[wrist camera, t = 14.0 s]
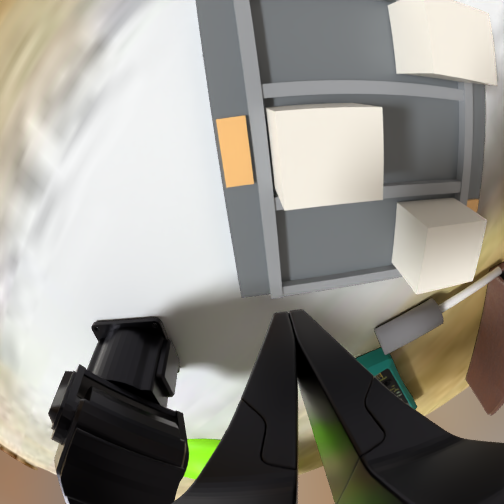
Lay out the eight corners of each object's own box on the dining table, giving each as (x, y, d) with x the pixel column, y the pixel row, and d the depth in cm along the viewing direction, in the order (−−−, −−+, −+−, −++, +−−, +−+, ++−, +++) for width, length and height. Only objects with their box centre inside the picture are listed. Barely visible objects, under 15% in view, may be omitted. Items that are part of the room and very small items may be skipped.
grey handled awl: (372, 324, 25) (376, 337, 27) (383, 347, 23) (386, 359, 25) (493, 252, 23) (490, 269, 24) (508, 270, 21) (504, 287, 22)
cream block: (274, 185, 18) (284, 210, 14) (265, 107, 16) (274, 111, 12) (355, 177, 18) (382, 199, 14) (351, 102, 16) (382, 107, 12)
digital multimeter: (381, 338, 27) (392, 360, 25) (412, 395, 34) (419, 412, 31) (316, 373, 29) (322, 396, 26) (363, 420, 35) (369, 438, 33)
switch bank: (241, 287, 23) (241, 303, 21) (196, -4, 13) (193, -13, 11) (460, 253, 23) (472, 264, 21) (466, 15, 13) (482, 13, 11)
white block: (391, 262, 21) (416, 294, 17) (396, 202, 19) (427, 227, 15) (444, 253, 21) (472, 280, 17) (453, 197, 19) (487, 220, 15)
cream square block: (396, 73, 15) (433, 73, 11) (387, 5, 12) (421, -9, 9) (457, 81, 15) (497, 86, 11) (450, 19, 12) (488, 13, 9)
